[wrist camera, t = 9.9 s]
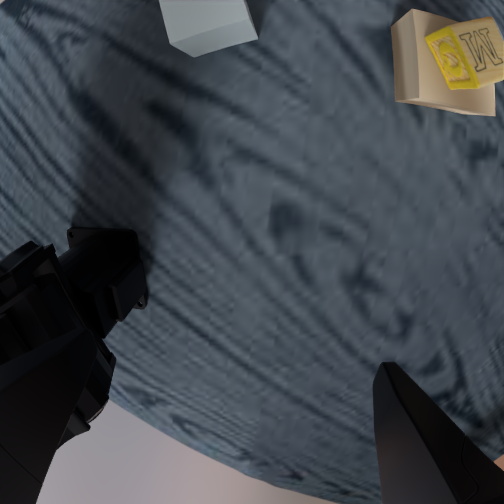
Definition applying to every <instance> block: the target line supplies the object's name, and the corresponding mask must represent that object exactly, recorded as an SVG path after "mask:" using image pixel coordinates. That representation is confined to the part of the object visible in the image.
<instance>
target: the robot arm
mask: <svg viewBox="0 0 504 504" xmlns="http://www.w3.org/2000/svg"><path fill="white" fill-rule="evenodd" d="M72 233H73V235H74V236H73V235H72ZM128 235H130V236H131V238H132V239H130V238H129V237H128ZM67 238H68V243H69V248H70V249H69V250H68V251H66V252H65V253H64V254H62V255H61V256H59V257H58V258H57V256H56V254H55V252H56V250H55V248H54V246H53V243H52V244H50V245H47V246H45V247H43V245H42V246H40V245H39V246H38V245H37V244H35V243H34V242H33V241H29V242H27V243H25V244H24V245H22V246H21V247H19V248H18V249H16V250H14V251H13V252H11V253H10V254H9V255H7V256H6V257H4V258H3V259H2V260H1V261H0V504H36V502H37V499H38V496H39V493H40V490H41V487H42V485H43V482H44V479H45V477H46V474H47V472H48V469H49V466H50V464H51V461H52V459H53V457H54V454H55V452H56V450H57V449H58V448H59V447H60V446H62V445H63V444H64V443H65V442H67V441H68V440H70V439H71V438H73V437H74V436H76V435H79V434H81V433H84V432H86V431H89V430H90V425H89V424H88V423H90V422H91V421H92V420H94V419H95V418H96V417H97V416H98V415H99V414H100V413H101V412H102V410H103V409H104V407H105V405H106V404H107V402H108V400H109V395H108V394H109V389H110V385H111V381H112V376H113V372H114V368H115V363H116V357H115V356H114V354H113V353H112V352H110V351H109V349H108V348H107V346H106V345H105V343H104V341H103V340H102V338H103V339H105V338H106V336H107V335H108V334H109V332H110V331H111V330H112V328H113V327H114V326H115V324H116V323H117V322H118V321H120V322H122V321H123V320H124V319H125V318H126V316H127V315H128V314H129V312H130V311H131V310H132V308H134V309H145V307H146V306H147V297H146V290H147V288H146V282H145V276H144V270H143V263H142V260H141V259H140V253H139V246H138V238H137V234H136V232H135V231H133V230H131V229H109V228H85V227H71V228H70V229H68V230H67ZM140 302H141V303H142V304H141V303H140ZM373 407H374V433H375V441H376V449H377V457H378V465H379V475H380V485H381V496H382V504H504V471H503V470H502V469H501V468H499V467H498V466H497V465H496V464H495V463H494V462H493V461H492V460H490V459H489V458H488V457H487V456H486V455H485V454H484V453H483V452H482V451H481V450H480V449H479V448H478V447H477V446H476V445H475V444H474V443H473V442H472V441H471V440H470V439H469V438H468V437H467V436H465V434H464V433H463V431H462V430H461V429H460V428H459V427H458V426H457V425H456V424H455V423H454V422H453V421H452V420H451V419H450V418H449V417H448V416H447V415H446V414H445V413H444V412H443V410H442V409H441V408H440V407H439V406H438V405H437V404H436V403H435V402H434V401H433V400H432V399H431V398H430V397H429V396H428V395H427V394H426V393H425V392H424V391H423V390H422V389H421V388H420V387H419V386H418V385H417V384H416V383H415V382H414V381H413V380H412V379H411V378H410V377H409V375H408V374H407V373H406V372H405V371H404V370H403V369H402V368H401V367H400V366H399V365H398V364H397V363H395V362H382V363H381V364H380V366H379V369H378V371H377V374H376V376H375V379H374V381H373Z"/></svg>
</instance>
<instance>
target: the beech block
mask: <svg viewBox="0 0 504 504" xmlns="http://www.w3.org/2000/svg"><path fill="white" fill-rule="evenodd" d="M457 23H460V22H457V21H454V20H451V19H448V18H445V17H442V16H438V15H435V14H431V13H428V12H424V11H420V10H416V9H411V10H410V11H409V12H407V13H406V14H405V15H404V16H403V17H402V18H400V19H399V20H398V21H397V22H396V23H395V24H393V25H392V26H391V34H392V45H393V59H394V78H395V101H397V102H404V103H410V104H416V105H422V106H428V107H433V108H438V109H443V110H447V111H452V112H456V113H461V114H472V115H486V116H495V86H494V83H493V84H490V85H487V86H485V87H482V88H479V89H457V90H450V89H449V87H448V85H447V83H446V81H445V78H444V76H443V74H442V72H441V70H440V68H439V66H438V64H437V62H436V60H435V58H434V56H433V54H432V52H431V50H430V48H429V47H428V45H427V43H426V41H425V36H427V35H429V34H431V33H433V32H435V31H437V30H439V29H441V28H444V27H446V26H448V25H452V24H457Z"/></svg>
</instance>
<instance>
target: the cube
mask: <svg viewBox="0 0 504 504" xmlns="http://www.w3.org/2000/svg"><path fill="white" fill-rule="evenodd" d="M159 2H160V6H161V11H162V15H163V19H164V23H165V27H166V31H167V34H168V38H169V42H170V44H171V45H172V46H174V47H176V48H178V49H180V50H181V51H183V52H185V53H187V54H188V55H190V56H192V57H193V58H195V57H198V56H200V55H203V54H207V53H210V52H213V51H216V50H219V49H223V48H226V47H230V46H233V45H237V44H240V43H244V42H248V41H252V40H256V39H258V36H257V33H256V30H255V27H254V23H253V20H252V17H251V14H250V11H249V8H248V5H247V2H246V0H159Z"/></svg>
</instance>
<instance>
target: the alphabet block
mask: <svg viewBox="0 0 504 504" xmlns="http://www.w3.org/2000/svg"><path fill="white" fill-rule="evenodd" d="M425 41H426V43H427V45H428V47H429V48H430V50H431V52H432V54H433V56H434V58H435V60H436V62H437V64H438V66H439V68H440V70H441V72H442V74H443V76H444V78H445V81H446V83H447V85H448V87H449V89H450V90H457V89H479V88H482V87H485V86H487V85H490V84H493V83H496V82H499V81H502V80H504V38H503V36H502V34H501V32H500V30H499V28H498V26H497V24H496V21H495V20H494V18H493V17H485V18H480V19H475V20H470V21H465V22H461V23H457V24H452V25H448V26H446V27H444V28H441V29H439V30H437V31H435V32H433V33H431V34H429V35H427V36H425Z"/></svg>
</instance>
